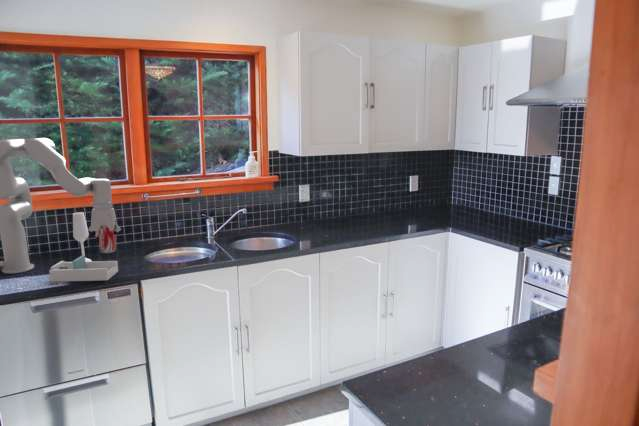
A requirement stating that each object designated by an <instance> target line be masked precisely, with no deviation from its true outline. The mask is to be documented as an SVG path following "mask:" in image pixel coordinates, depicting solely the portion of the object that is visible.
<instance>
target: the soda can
mask: <svg viewBox="0 0 639 426" xmlns="http://www.w3.org/2000/svg"><path fill="white" fill-rule="evenodd" d="M115 230H116V229H114V230H113V231H109V228H108V227H107V226H101V227H100V228H99V231H98V235H99V245H98V248H99V251H100V252H101V254H111V253H114V252H115V251H116V250H117V237H116V235H117V234H115V235H114V231H115Z"/></svg>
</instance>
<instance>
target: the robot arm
mask: <svg viewBox="0 0 639 426" xmlns="http://www.w3.org/2000/svg"><path fill="white" fill-rule="evenodd" d="M56 149H57V148H56V145H55V143H54V141H52V139H50V138H47V137H37V138H35V137H34V138H33V137H30V138H5V139H4V138H3V139H0V200H3V201H6V200H7V202H5V203H2V204H0V239H1V240H0V241H1V246H2V252H3V253H2V254H3V260H4V261H3V260H1V261H0V267H2V268H1V272H2V274H7V275H9V274H10V275H13V274H21V273H24V272H29V271H31V270H33V269H34V268H35V264H34V263H31V262H30V256H29V248H28V242H27V235H26V230H25V227H24V225H23V223H22V221H23V220H26V219H28V218H30V217H31V215H33V210H34V209H33V207H34V206H33V201H32V195H31V190H30V186H29V183H28V182H27V181H26V180H25V178H23V177H21V176H15V174H14V170H13V166H12V164H11V162H10V161H9V160H11V159H17V158H18V159H19V158H27V157H28V158H29V157H30V158H32V159H33V160H35V161H36V162H37V163H38V164H40V165H41V166H42V167H44V168H45V170H47V171H48V172H50V173H51V175H52V177H53V179H54V180H55V182H56V183H57V184H58V186H60V187H61V188H62V189H63V190H64V191H66V192H67V193H69V194H70V195H72V196H74V197H79V198H80V197H83V196H86V195H90V194H92V197H93V198H92V199H93V202H91V203H90V206H91V207H93V208H92V210H91V217H90V226H89V227H88V228H87V229H88V232H91V233H92V234H93V235H94V236H95V238H96V244H97V246H99V235H98V231H99V228H100V227H101V226H107V227H108V228H109V231H113V230H114V229H115V231H114V235H117V233H119V232H120V231H122V228H121V227H120V226H119V224H118V221H117V215H116V211H115V208H113V199H112V185H111V183H112V182H111V180H110V179H108V178H104V177H103V178H94V177H82V178H77V177H76V176H75V175H74V174H72V173H71V172H70V171H69V170H68V168H67V166H66V163H67V160H66V158H65V157H64V156H63V155H61V154H60V153H59V152H57V151H56ZM8 200H9V201H8Z"/></svg>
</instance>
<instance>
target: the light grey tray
mask: <svg viewBox="0 0 639 426" xmlns="http://www.w3.org/2000/svg"><path fill="white" fill-rule="evenodd" d="M118 272H119V265H118V260H102V261H101V260H96V261H95V260H93V261H88V262H86V269H73V262H72V261H65V260H60V261H58V262H57V263H56V264H54V265H52V266H51V267H50V269H49V270H48V273H49V281H50V282H51V283H52V282H53V283H54V282H59V283H60V282H91V281H92V282H93V281H96V282H98V281H99V282H100V281H109V280H110V279H111V278H112V277H113V276H115V275H116V274H117V273H118Z"/></svg>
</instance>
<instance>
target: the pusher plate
mask: <svg viewBox="0 0 639 426" xmlns="http://www.w3.org/2000/svg"><path fill="white" fill-rule="evenodd" d="M85 258H86V255H85V256H82V255H80V256H79V257H77V258H76V259H74V260H72V261H71V262H73V269H86V262H85Z"/></svg>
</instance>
